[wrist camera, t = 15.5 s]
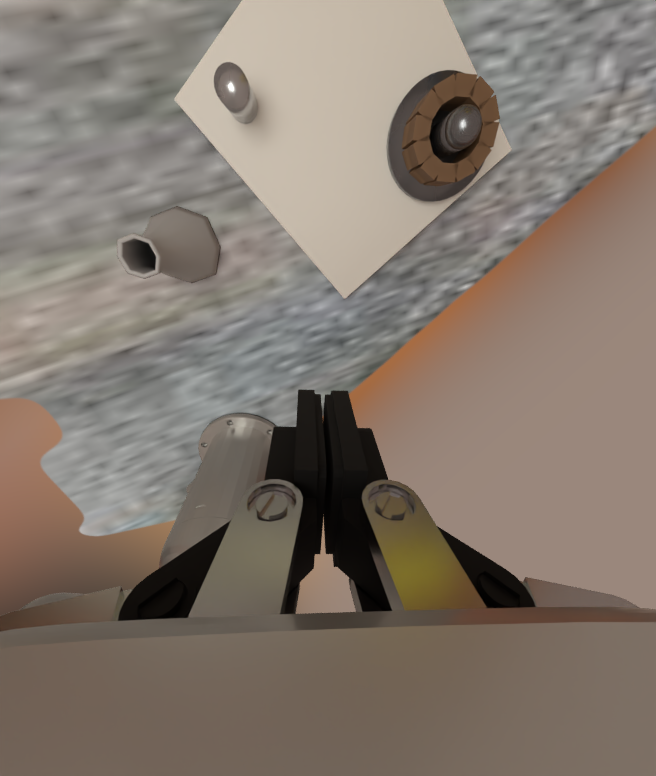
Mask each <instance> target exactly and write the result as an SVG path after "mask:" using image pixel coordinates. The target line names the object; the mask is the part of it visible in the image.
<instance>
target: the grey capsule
mask: <svg viewBox="0 0 656 776" xmlns="http://www.w3.org/2000/svg"><path fill="white" fill-rule="evenodd" d="M214 88H215V91H216V94H217V96H218V98H219V99H220V100H221V102H222V103H223V104H224V106H225V107H226V108H227V109H228V111H229V112H230V113H231V114H232V116H233V117H234V118H235V119H236V120H237V121H238V122H240V123H242V124H248V123H251V122H252V121H253V120H254V119H255V118H256V116H257V112H258V103H257V99H256V97H255V95H254V93H253V91H252V88H251V86H250V84H249V82H248V80H247V78H246V76H245V74H244V72H243V71H242V69H241V68H240V67H239V66H238V65H236V64H234V63H232V62H225V63H222V64H221V65H220V66H219V67H218V68H217V69H216V72H215V75H214Z"/></svg>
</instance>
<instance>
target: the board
mask: <svg viewBox="0 0 656 776" xmlns="http://www.w3.org/2000/svg"><path fill="white" fill-rule="evenodd" d="M225 62H232V63H234V64H236V65H238V66H239V67H240V68H241V69H242V71H243V72H244V74H245V76H246V78H247V80H248V82H249V84H250V86H251V88H252V91H253V93H254V95H255V97H256V99H257V103H258V112H257V116H256V118H255V119H254V120H253V121H252V122H251V123H248V124H242V123H240V122H238V121H237V120H236V119H235V118H234V117H233V116H232V114H231V113H230V112H229V111H228V109H227V108H226V107H225V106H224V104H223V103H222V102H221V100H220V99H219V98H218V96H217V94H216V91H215V88H214V75H215V72H216V69H217V68H218V67H219V66H220V65H221V64H222V63H225ZM444 70H455V71H460V72H463V73H466V74H476V75H477V73H476V71H475V69H474V67H473V65H472V63H471V60H470V58H469V56H468V54H467V52H466V50H465V47H464V45H463V43H462V41H461V39H460V37H459V34H458V32H457V30H456V28H455V26H454V24H453V21H452V19H451V17H450V15H449V13H448V10H447V8H446V6H445V4H444V2H443V0H242V1H241V3H240V4H239V6H238V7H237V9H236V10H235V12H234V13H233V14H232V16H231V17H230V19H229V20H228V22H227V23H226V25H225V26H224V28H223V29H222V30H221V32H220V33H219V35H218V36H217V38H216V39H215V41H214V42H213V44H212V45H211V46H210V48H209V49H208V51H207V52H206V54H205V55H204V57H203V58H202V60H201V61H200V62H199V64H198V65H197V67H196V68H195V70H194V71H193V73H192V74H191V76H190V77H189V78H188V80H187V81H186V83H185V84H184V86H183V87H182V89H181V90H180V92H179V93H178V94H177V96H176V97H175V99H174V100H175V101H176V102H177V103H178V104H179V106H180V107H181V108H182V109H183V110H184V111H185V113H186V114H187V115H188V116H189V117H190V118H191V120H192V121H193V122H194V123H195V124H196V125H197V127H198V128H199V129H200V130H201V131H202V132H203V134H204V135H205V136H206V137H207V138H208V139H209V141H210V142H211V143H212V144H213V145H214V147H215V148H216V149H217V150H218V151H219V152H220V154H221V155H222V156H223V157H224V158H225V159H226V161H227V162H228V163H229V164H230V165H231V166H232V168H233V169H234V170H235V171H236V172H237V173H238V175H239V176H240V177H241V178H242V179H243V180H244V182H245V183H246V184H247V185H248V186H249V187H250V189H251V190H252V191H253V192H254V193H255V195H256V196H257V197H258V198H259V199H260V200H261V202H262V203H263V204H264V205H265V206H266V207H267V209H268V210H269V211H270V212H271V213H272V214H273V216H274V217H275V218H276V219H277V220H278V221H279V223H280V224H281V225H282V226H283V227H284V228H285V230H286V231H287V232H288V233H289V234H290V235H291V237H292V238H293V239H294V240H295V241H296V243H297V244H298V245H299V246H300V247H301V248H302V250H303V251H304V252H305V253H306V254H307V255H308V257H309V258H310V259H311V260H312V261H313V262H314V264H315V265H316V266H317V267H318V268H319V269H320V271H321V272H322V273H323V274H324V275H325V276H326V278H327V279H328V280H329V281H330V282H331V284H332V285H333V286H334V287H335V288H336V289H337V291H338V292H339V293H340V294H341V295H342V296H343V298H344V299H345V298H347V297H348V296H349V295H350V294H351V293H352V292H353V291H354V290H355V289H357V288H358V287H359V286H360V285H361V284H362V283H363V282H364V281H366V280H367V279H368V278H369V277H370V276H371V275H372V274H373V273H375V272H376V271H377V270H378V269H379V268H380V267H381V266H382V265H383V264H385V263H386V262H387V261H388V260H389V259H390V258H391V257H392V256H394V255H395V254H396V253H397V252H398V251H399V250H400V249H401V248H402V247H404V246H405V245H406V244H407V243H408V242H409V241H410V240H411V239H413V238H414V237H415V236H416V235H417V234H418V233H419V232H420V231H422V230H423V229H424V228H425V227H426V226H427V225H428V224H429V223H430V222H432V221H433V220H434V219H435V218H436V217H437V216H438V215H439V214H441V213H442V212H443V211H444V210H445V209H446V208H447V207H448V206H449V205H451V204H452V203H453V202H454V201H455V200H456V199H457V198H458V197H460V196H461V195H462V194H463V193H464V192H465V191H466V190H467V189H469V188H470V187H471V186H472V185H473V184H474V183H475V182H476V181H477V180H479V179H480V178H481V177H482V176H483V175H484V174H485V173H486V172H488V171H489V170H490V169H491V168H492V167H493V166H494V165H495V164H497V163H498V162H499V161H500V160H501V159H502V158H503V157H504V156H505V155H507V154H508V153H509V152H510V151H511V150H512V149H511V147H510V145H509V143H508V141H507V139H506V136H505V134H504V132H503V130H502V128H501V126H500V123H499V126H498V130H497V134H496V138H495V142H494V146H493V147H492V148H490V149H491V150H492V151H491V152H490V153H489V155H488V156H487V158H486V159H485V161H484V163H483V165H482V167H481V169H480V170H479V172H478V174H477V175H476V176H475V178H474V179H473V180H472V181H471V182H470V183H469V184H468V185H467V186H466V187H465V188H464V189H463V190H462V191H460V192H459V193H457V194H456V195H454V196H452V197H450V198H448V199H444V200H441V201H434V202H423V201H418V200H415V199H413V198H411V197H409V196H408V195H406V194H405V193H404V192H403V191H402V190H401V189H400V188H399V187H398V186H397V184H396V183H395V181H394V179H393V177H392V175H391V172H390V169H389V166H388V161H387V148H386V147H387V137H388V131H389V127H390V124H391V121H392V118H393V116H394V113H395V111H396V109H397V108H398V106H399V104H400V103H401V101H402V100H403V98H404V97H405V96H406V94H407V93H408V92H409V91H410V90H411V88H413V87H414V86H415V85H416V84H417V83H418V82H419V81H421V80H422V79H423V78H425V77H427V76H429V75H430V74H433V73H436V72H438V71H444ZM477 78H478V76H477ZM494 122H499V121H498V120H496V121H494Z"/></svg>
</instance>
